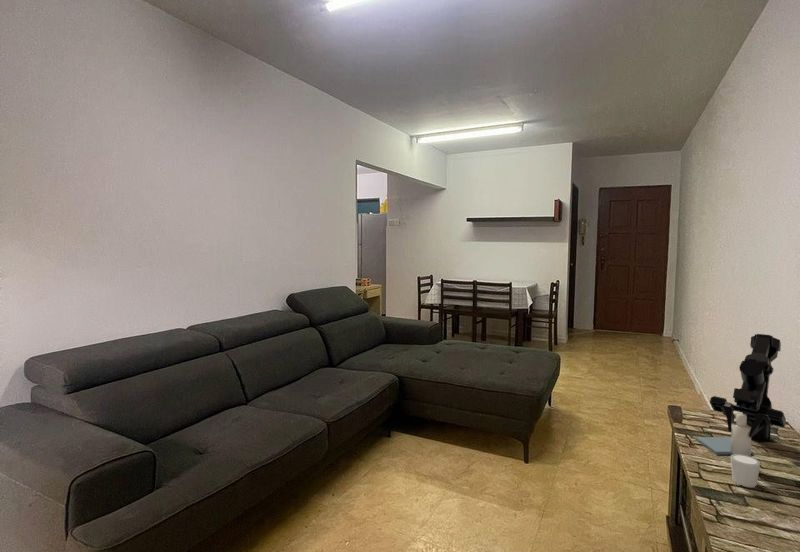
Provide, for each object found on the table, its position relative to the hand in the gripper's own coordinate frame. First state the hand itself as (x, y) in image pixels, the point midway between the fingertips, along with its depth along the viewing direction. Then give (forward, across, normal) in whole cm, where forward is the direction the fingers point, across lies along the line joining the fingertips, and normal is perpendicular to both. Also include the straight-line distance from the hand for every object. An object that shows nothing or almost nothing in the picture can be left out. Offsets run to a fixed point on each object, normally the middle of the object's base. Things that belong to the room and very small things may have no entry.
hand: (739, 433), depth 136 cm
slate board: (0, -7, +15) cm, 16 cm away
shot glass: (+15, +4, 0) cm, 16 cm away
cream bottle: (+4, 0, +6) cm, 7 cm away
